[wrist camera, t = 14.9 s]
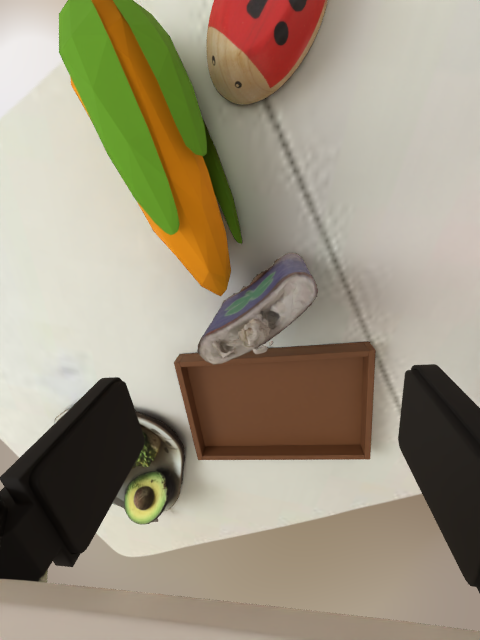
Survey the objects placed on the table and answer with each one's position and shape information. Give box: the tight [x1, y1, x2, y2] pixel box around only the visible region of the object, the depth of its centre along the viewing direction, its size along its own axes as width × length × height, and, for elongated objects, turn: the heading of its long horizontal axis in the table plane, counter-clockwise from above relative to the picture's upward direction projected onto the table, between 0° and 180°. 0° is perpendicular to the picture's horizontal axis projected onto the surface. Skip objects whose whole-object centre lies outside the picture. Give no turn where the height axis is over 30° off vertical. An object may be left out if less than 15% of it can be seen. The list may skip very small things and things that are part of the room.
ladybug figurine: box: [207, 0, 328, 104], centre depth 17 cm, size 7×10×4 cm
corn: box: [59, 0, 242, 296], centre depth 19 cm, size 7×8×20 cm
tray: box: [174, 342, 376, 460], centre depth 29 cm, size 19×13×2 cm
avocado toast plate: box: [54, 409, 185, 524], centre depth 34 cm, size 19×18×5 cm
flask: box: [198, 253, 318, 365], centre depth 21 cm, size 9×3×11 cm, turn 129°
